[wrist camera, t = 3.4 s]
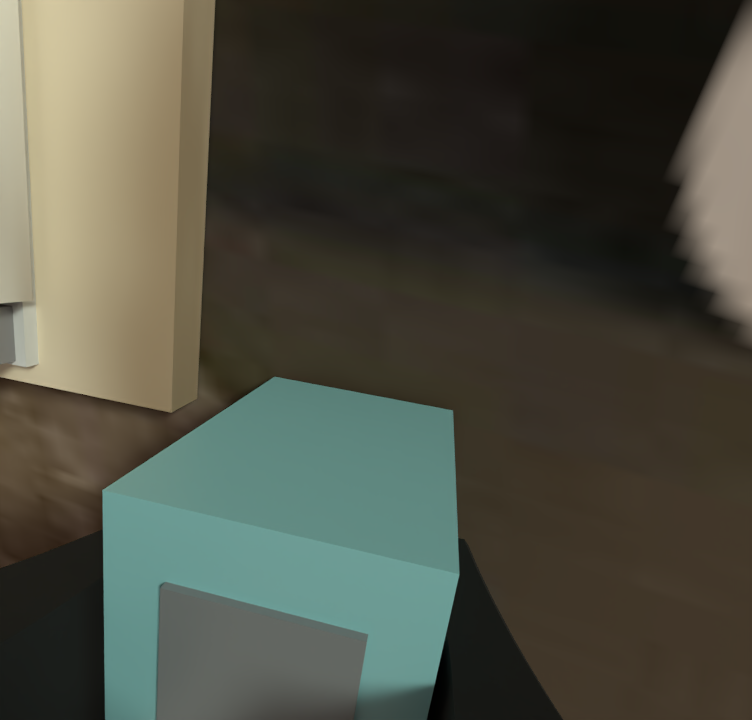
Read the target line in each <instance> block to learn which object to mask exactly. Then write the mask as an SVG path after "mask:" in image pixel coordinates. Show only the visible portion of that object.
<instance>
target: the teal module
mask: <svg viewBox="0 0 752 720" xmlns="http://www.w3.org/2000/svg"><path fill="white" fill-rule="evenodd" d="M458 578H459V551H458V526H457V501H456V476H455V451H454V426H453V410H447V409H442V408H437V407H432V406H426V405H421V404H416V403H410V402H405V401H400V400H395V399H389V398H384V397H379V396H374V395H368V394H363V393H358V392H353V391H347V390H342V389H337V388H331V387H326V386H321V385H316V384H310V383H305V382H300V381H295V380H289V379H284V378H279V377H273V378H272V379H270V380H269V381H267V382H266V383H264V384H263V385H261V386H260V387H258V388H257V389H255V390H254V391H252V392H251V393H249V394H248V395H246V396H245V397H243V398H241V399H240V400H238V401H237V402H235V403H234V404H232V405H231V406H229V407H228V408H226V409H225V410H223V411H222V412H220V413H219V414H217V415H216V416H214V417H213V418H211V419H210V420H208V421H207V422H205V423H204V424H202V425H201V426H199V427H197V428H196V429H194V430H193V431H191V432H190V433H188V434H187V435H185V436H184V437H182V438H181V439H179V440H178V441H176V442H175V443H173V444H172V445H170V446H169V447H167V448H166V449H164V450H163V451H161V452H160V453H158V454H157V455H155V456H153V457H152V458H150V459H149V460H147V461H146V462H144V463H143V464H141V465H140V466H138V467H137V468H135V469H134V470H132V471H131V472H129V473H128V474H126V475H125V476H123V477H122V478H120V479H119V480H117V481H116V482H114V483H113V484H111V485H109V486H108V487H106V488H105V489H103V580H104V669H105V720H427V716H428V712H429V707H430V703H431V699H432V694H433V690H434V685H435V681H436V676H437V672H438V667H439V663H440V658H441V654H442V650H443V645H444V641H445V636H446V632H447V627H448V623H449V618H450V614H451V610H452V605H453V601H454V596H455V592H456V587H457V583H458Z"/></svg>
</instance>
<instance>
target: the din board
mask: <svg viewBox="0 0 752 720" xmlns="http://www.w3.org/2000/svg"><path fill="white" fill-rule="evenodd" d="M214 16H215V0H0V377H2V378H7V379H12V380H17V381H22V382H26V383H31V384H36V385H41V386H46V387H51V388H55V389H60V390H65V391H70V392H75V393H79V394H84V395H89V396H94V397H99V398H103V399H108V400H113V401H118V402H123V403H127V404H132V405H137V406H142V407H147V408H151V409H156V410H161V411H166V412H171V413H172V412H173V411H175V410H177V409H179V408H181V407H183V406H185V405H186V404H188V403H190V402H192V401H194V400H196V399H197V391H198V369H199V347H200V325H201V303H202V281H203V259H204V237H205V215H206V192H207V170H208V148H209V126H210V104H211V82H212V60H213V38H214Z"/></svg>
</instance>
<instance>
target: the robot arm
mask: <svg viewBox="0 0 752 720" xmlns="http://www.w3.org/2000/svg"><path fill="white" fill-rule="evenodd" d="M458 551H459V578H458V583H457V587H456V592H455V596H454V601H453V605H452V610H451V614H450V618H449V623H448V627H447V632H446V636H445V641H444V645H443V650H442V654H441V658H440V663H439V667H438V672H437V676H436V681H435V685H434V690H433V694H432V699H431V703H430V707H429V712H428V716H427V720H563V719H562V717H561V716H560V714H559V713H558V711H557V710H556V708H555V706H554V705H553V703H552V702H551V700H550V699H549V697H548V695H547V694H546V692H545V691H544V689H543V687H542V686H541V684H540V682H539V681H538V679H537V677H536V676H535V674H534V673H533V671H532V669H531V668H530V666H529V664H528V663H527V661H526V659H525V657H524V656H523V654H522V652H521V650H520V649H519V647H518V645H517V643H516V642H515V640H514V638H513V636H512V634H511V633H510V631H509V629H508V627H507V625H506V623H505V621H504V619H503V618H502V616H501V614H500V612H499V610H498V608H497V606H496V604H495V602H494V600H493V598H492V596H491V594H490V592H489V590H488V588H487V586H486V584H485V582H484V580H483V578H482V576H481V573H480V571H479V569H478V567H477V565H476V562H475V560H474V558H473V555H472V553H471V551H470V548H469V546H468V544H467V543H466V541H465V540H464V539H460V538H458ZM0 720H105V669H104V580H103V530H100V531H98V532H95V533H93V534H90V535H88V536H85V537H83V538H80V539H78V540H75V541H73V542H70V543H68V544H65V545H63V546H60V547H58V548H55V549H53V550H50V551H48V552H45V553H42V554H40V555H37V556H34V557H31V558H29V559H26V560H23V561H20V562H17V563H15V564H12V565H9V566H6V567H3V568H0Z"/></svg>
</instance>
